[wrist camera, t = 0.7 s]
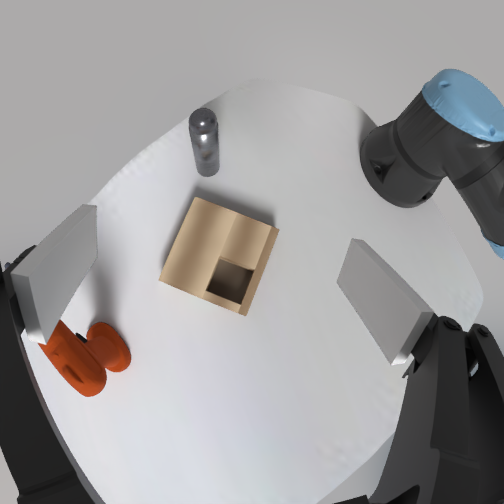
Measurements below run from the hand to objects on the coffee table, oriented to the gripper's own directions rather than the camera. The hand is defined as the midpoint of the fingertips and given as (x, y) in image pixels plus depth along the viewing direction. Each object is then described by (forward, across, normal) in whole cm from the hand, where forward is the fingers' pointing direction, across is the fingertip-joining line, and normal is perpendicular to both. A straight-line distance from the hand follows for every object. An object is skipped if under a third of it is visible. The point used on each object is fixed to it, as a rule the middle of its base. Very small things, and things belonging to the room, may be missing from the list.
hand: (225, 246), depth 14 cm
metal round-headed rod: (+31, -1, -2) cm, 32 cm away
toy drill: (+19, -15, -23) cm, 34 cm away
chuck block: (+23, +2, -12) cm, 27 cm away
